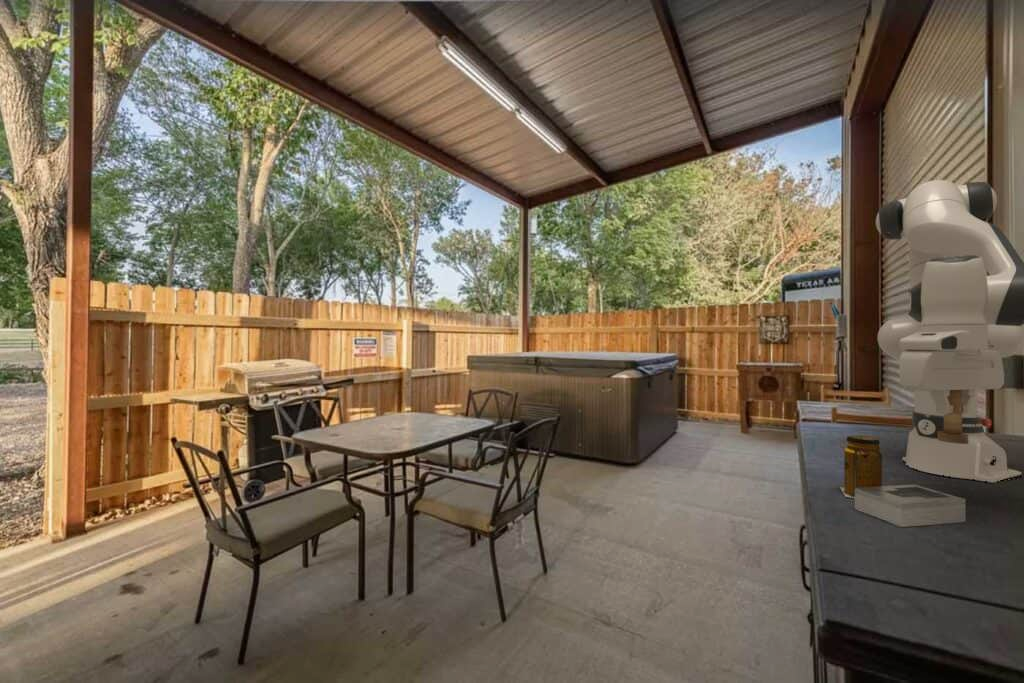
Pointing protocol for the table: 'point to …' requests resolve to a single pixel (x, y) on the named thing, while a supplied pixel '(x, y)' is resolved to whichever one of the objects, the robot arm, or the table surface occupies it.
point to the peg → (954, 421)
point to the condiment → (861, 464)
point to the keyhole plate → (910, 514)
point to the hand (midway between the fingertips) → (952, 413)
